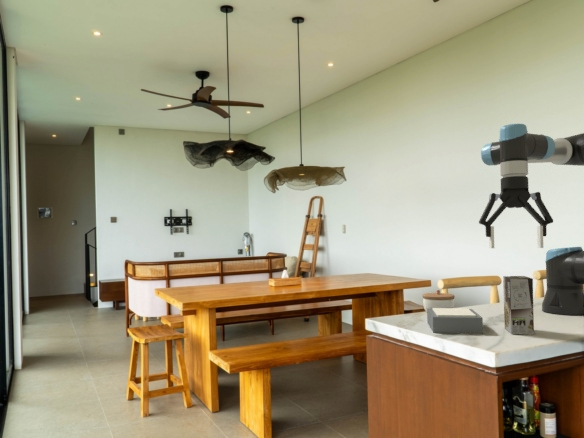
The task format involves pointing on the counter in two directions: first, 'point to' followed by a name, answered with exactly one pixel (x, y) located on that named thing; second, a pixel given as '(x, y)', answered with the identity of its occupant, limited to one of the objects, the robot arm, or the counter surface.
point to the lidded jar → (438, 300)
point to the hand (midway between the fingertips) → (516, 248)
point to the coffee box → (518, 304)
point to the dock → (454, 320)
